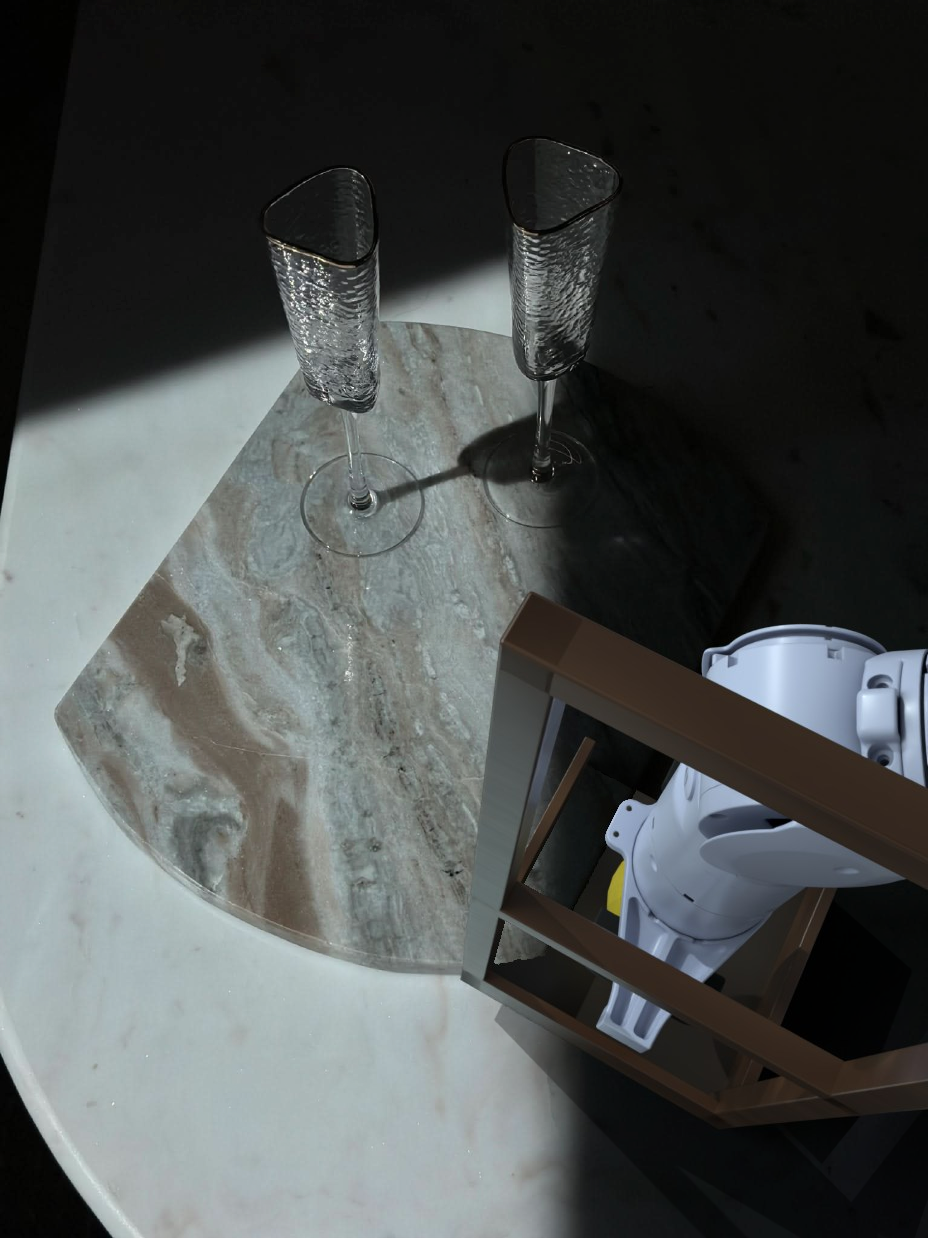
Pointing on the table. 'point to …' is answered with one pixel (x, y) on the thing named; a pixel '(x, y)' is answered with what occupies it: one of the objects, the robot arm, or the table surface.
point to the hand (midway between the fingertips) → (664, 910)
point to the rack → (559, 981)
